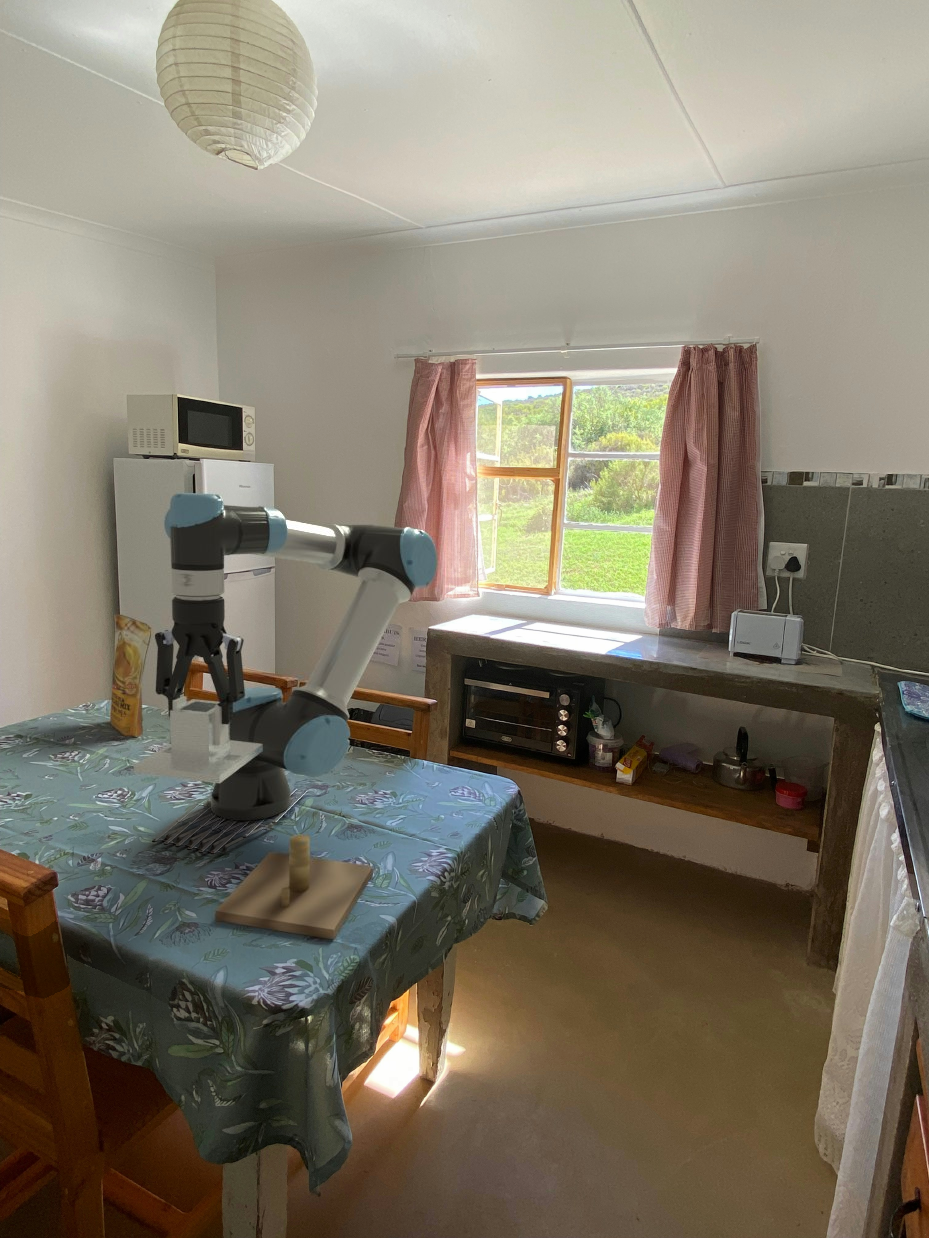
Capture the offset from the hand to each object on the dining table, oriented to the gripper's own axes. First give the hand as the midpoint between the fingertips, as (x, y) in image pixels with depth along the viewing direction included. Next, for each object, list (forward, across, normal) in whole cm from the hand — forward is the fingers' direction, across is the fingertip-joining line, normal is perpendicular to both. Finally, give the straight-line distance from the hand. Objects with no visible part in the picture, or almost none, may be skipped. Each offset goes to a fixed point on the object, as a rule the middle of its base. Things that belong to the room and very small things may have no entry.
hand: (201, 740), depth 114 cm
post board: (+22, +18, -3) cm, 29 cm away
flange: (+3, 0, 0) cm, 3 cm away
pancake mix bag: (+22, -53, +57) cm, 81 cm away
